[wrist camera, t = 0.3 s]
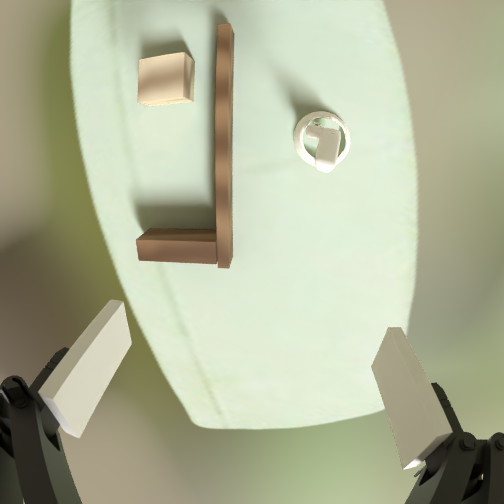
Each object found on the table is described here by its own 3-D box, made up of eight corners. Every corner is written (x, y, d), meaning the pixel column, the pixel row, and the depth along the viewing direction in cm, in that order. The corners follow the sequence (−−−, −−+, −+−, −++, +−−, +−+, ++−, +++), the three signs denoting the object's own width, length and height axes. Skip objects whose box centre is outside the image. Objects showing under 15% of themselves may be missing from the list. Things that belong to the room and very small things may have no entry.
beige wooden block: (154, 67, 31) (139, 59, 26) (195, 61, 31) (184, 51, 26) (153, 106, 33) (137, 102, 29) (194, 101, 33) (183, 96, 28)
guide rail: (147, 45, 29) (132, 35, 25) (234, 34, 29) (229, 20, 24) (152, 253, 42) (139, 267, 37) (232, 256, 41) (228, 271, 36)
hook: (278, 201, 32) (278, 152, 27) (296, 144, 39) (297, 103, 33) (342, 213, 31) (353, 165, 25) (347, 153, 37) (354, 112, 31)
